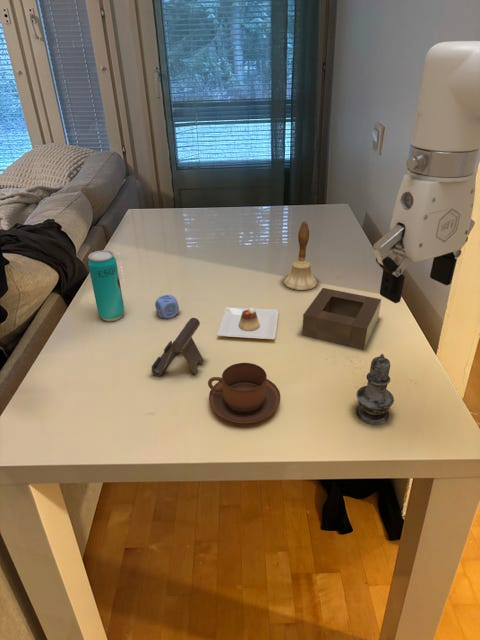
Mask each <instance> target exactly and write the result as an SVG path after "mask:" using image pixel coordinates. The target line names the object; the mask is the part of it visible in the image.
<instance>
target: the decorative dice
mask: <svg viewBox="0 0 480 640" xmlns="http://www.w3.org/2000/svg"><path fill="white" fill-rule="evenodd" d="M154 305H155V310H156V313H157V315H158V316H159V317H160V318H162V319H164V320H165V319H166V320H168V319H173V318H174V317H176V316H177V314H178V313H179V310H180V307H179V303H178V300H177V298H176V297H175V296H174V295H171V294H163V295H160V296H159V297H157V298H156V299H155V302H154Z"/></svg>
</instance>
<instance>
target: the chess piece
mask: <svg viewBox="0 0 480 640" xmlns="http://www.w3.org/2000/svg"><path fill="white" fill-rule="evenodd" d="M390 369H391V362H390V360H389V359H388V358H387V357H385V355H384V353H381V354H379V356H375V357H374V358H372V360H371V361H370V367H369V372H368V373H367V374H366V376H365V377H366V380H367V383H366V385H363V386H362V387H360V388H358V389H357V391H356V393H355V395H356V399H357V402H358V405H356V409H355V414H356V416H357V418H358V419H359V420H360V421H362V422H364V423H366V424H369V425H374V426H375V425H376V426H377V425H382V424H385V423H386V422H387V421H388V420H389V417H390V412H389V409H390V408H391V407H392V406H393V405H394V402H395V399H394V395H393V394H392V392H391V391H390V390H389V389H388V384H390V382H391V377H390Z"/></svg>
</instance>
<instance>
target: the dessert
mask: <svg viewBox="0 0 480 640" xmlns="http://www.w3.org/2000/svg"><path fill="white" fill-rule="evenodd" d="M279 312H280V310H279V309H276V308H274V309H273V308H255V307H252V306H249V307H236V306H235V307H234V306H226V307H225V309H224V311H223V315H222V317H221V318H222V319H221V321H220V324H219V327H218V329H217V330H218V331H217V333H216V336H217V337H226V338H242V339H243V338H245V339H258V340H259V339H262V340H276V336H277V329H278V328H277V327H278V319H279Z"/></svg>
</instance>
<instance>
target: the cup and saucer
mask: <svg viewBox="0 0 480 640" xmlns="http://www.w3.org/2000/svg"><path fill="white" fill-rule="evenodd" d="M267 377H268V376H267V372H266V371H265V369H264V368H263V367H262V366H260V365H258V364H256V363H252V362H251V363H250V362H238V363H234V364H231V365H229V366H227V367H226V368H225V369H224V370H223V372H222V374H221V377H220V376H212V377H210V378H209V379H208V381H207V384H208V387H209V389H210V391H209V395H208V402H209V405H210V407H211V410H212V411H213V412H214V413H215V414H216V415H217V416H219V417H220V418H222V419H224V420H226V421H228V422H233V423H237V424H252V423H256V422H260V421H262V420H266V419H267V418H269V417H270V416H271V415H273V414H274V413H275V412H276V411H277V409H278V408H279V406H280V403H281V392H280V390H279V388H278V387H277V385H276V384H275V383H274V382H272V381H271V380H270V379H268V378H267ZM215 381H216V383H215V384H214V385H213V382H215Z"/></svg>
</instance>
